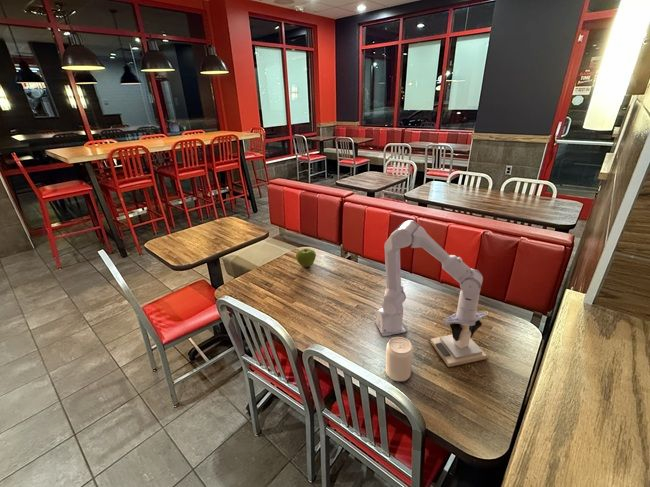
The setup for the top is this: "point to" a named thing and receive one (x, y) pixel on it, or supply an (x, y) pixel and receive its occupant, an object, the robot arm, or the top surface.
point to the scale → (457, 351)
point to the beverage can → (399, 358)
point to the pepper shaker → (463, 336)
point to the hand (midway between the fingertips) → (461, 337)
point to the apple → (306, 257)
